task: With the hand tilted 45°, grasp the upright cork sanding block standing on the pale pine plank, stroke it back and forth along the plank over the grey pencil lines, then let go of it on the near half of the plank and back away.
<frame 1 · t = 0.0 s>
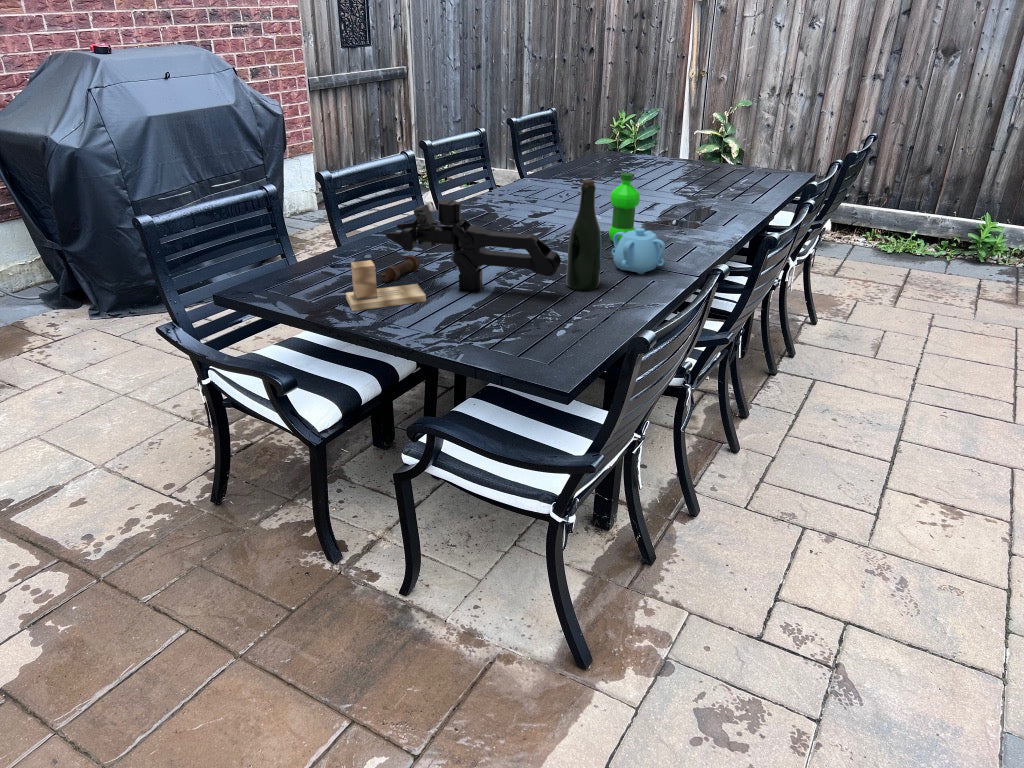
hand: (391, 230, 228), 17 cm above the table, tool horizontal, fingers open, 9 cm apart
decorative pot: (636, 268, 249), on the table
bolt: (399, 277, 241), on the table
beer bottle: (582, 286, 235), on the table
sanding block: (365, 296, 219), point 2 cm above the table, touching plank
plastic bottle: (621, 243, 273), on the table
plank: (386, 300, 222), on the table
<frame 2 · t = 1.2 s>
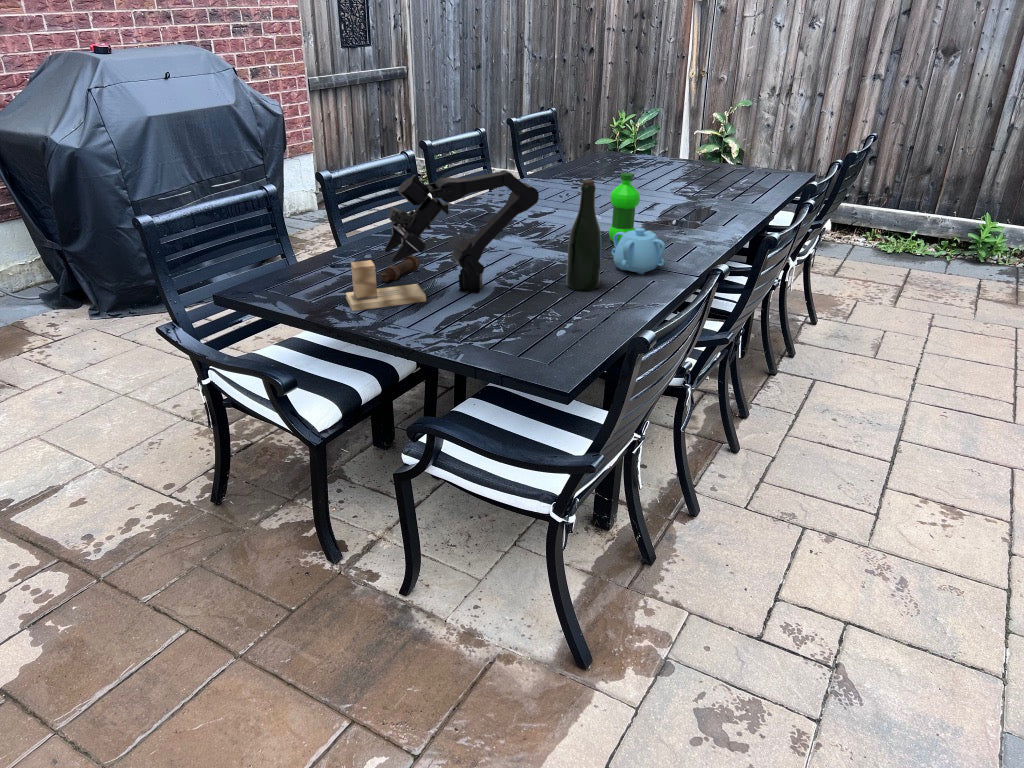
hand: (389, 256, 216), 13 cm above the table, tool tilted 45°, fingers open, 9 cm apart
nothing on the table moved.
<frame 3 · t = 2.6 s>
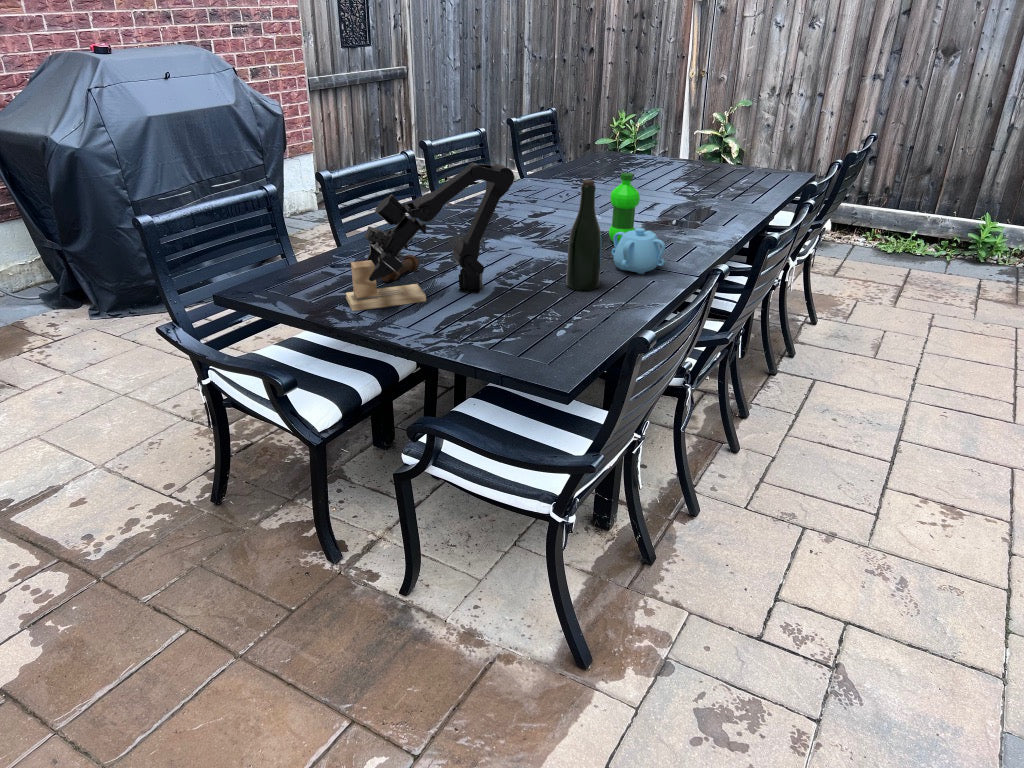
hand: (366, 275, 216), 9 cm above the table, tool tilted 45°, fingers open, 9 cm apart
nothing on the table moved.
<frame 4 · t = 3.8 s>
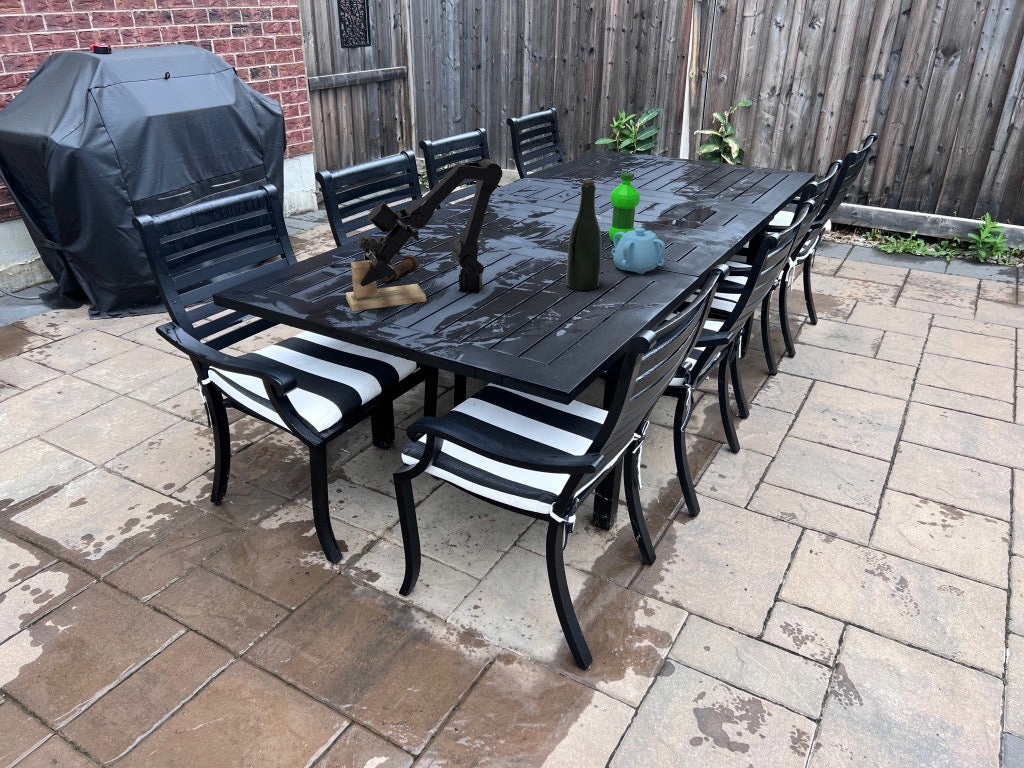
hand: (359, 282, 217), 7 cm above the table, tool tilted 45°, fingers closed on sanding block, 5 cm apart
sanding block: (365, 296, 219), point 2 cm above the table, touching gripper, plank
everything else where it was.
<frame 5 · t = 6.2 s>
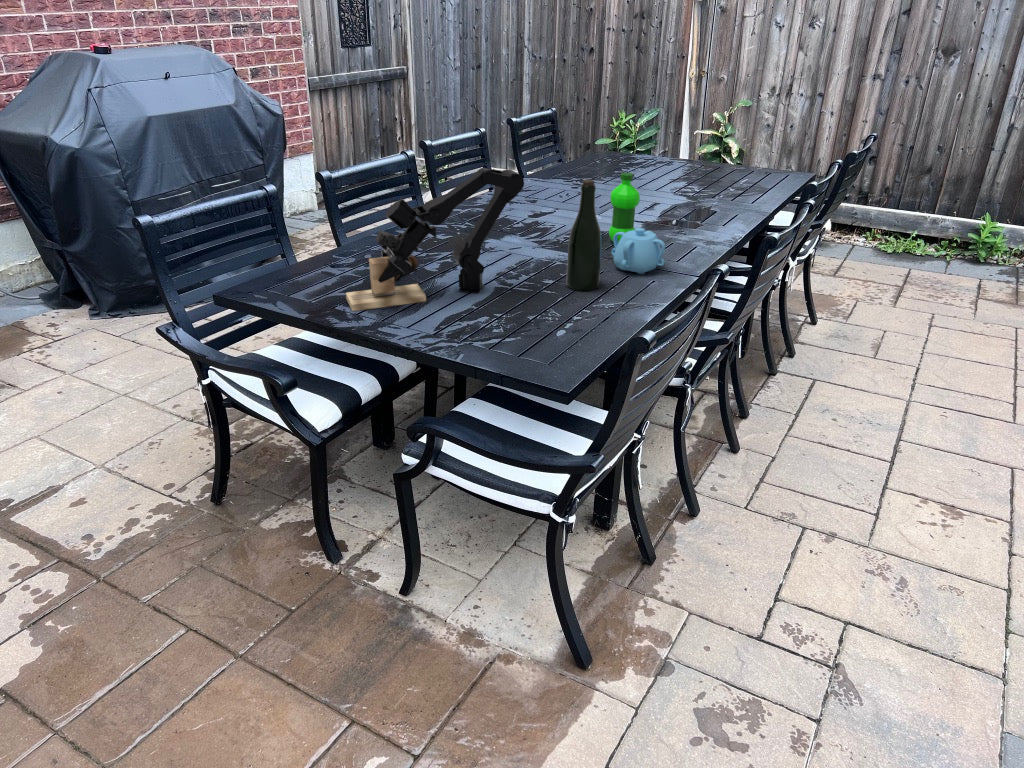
hand: (377, 278, 218), 7 cm above the table, tool tilted 45°, fingers closed on sanding block, 5 cm apart
sanding block: (383, 292, 221), point 3 cm above the table, touching gripper
everything else where it was.
when the fingers open (7 cm above the table, at t = 8.6 s): sanding block stays where it is, resting on plank.
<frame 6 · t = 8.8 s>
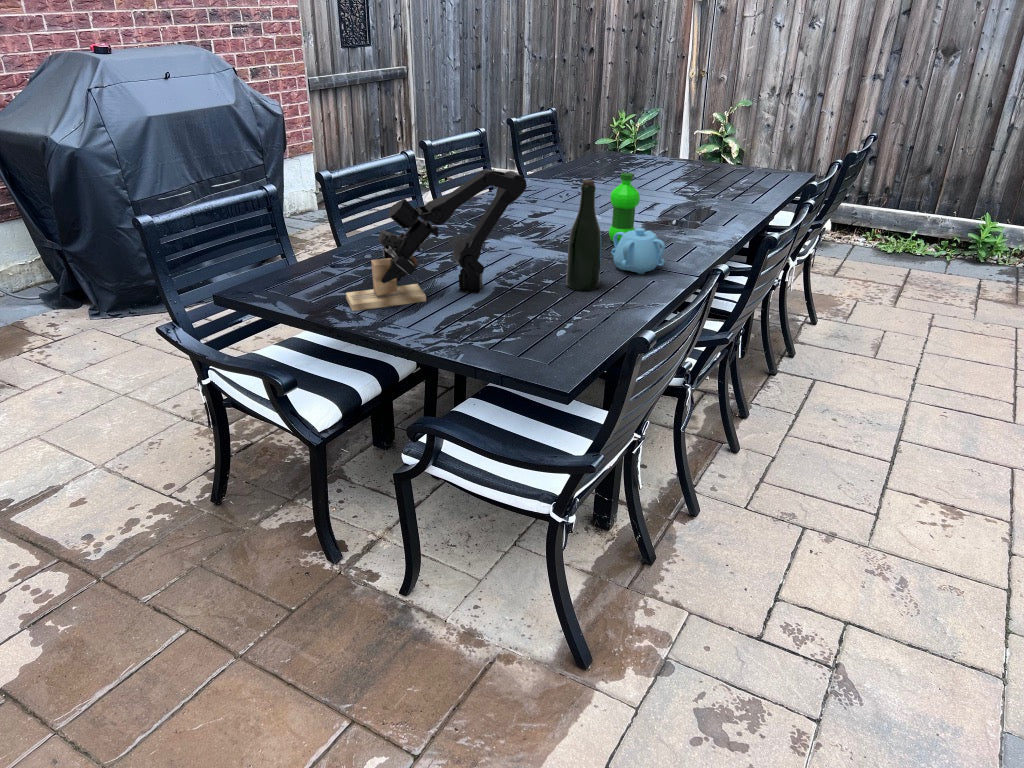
hand: (379, 278, 218), 7 cm above the table, tool tilted 45°, fingers open, 7 cm apart
sanding block: (385, 293, 221), point 2 cm above the table, touching plank
everything else where it was.
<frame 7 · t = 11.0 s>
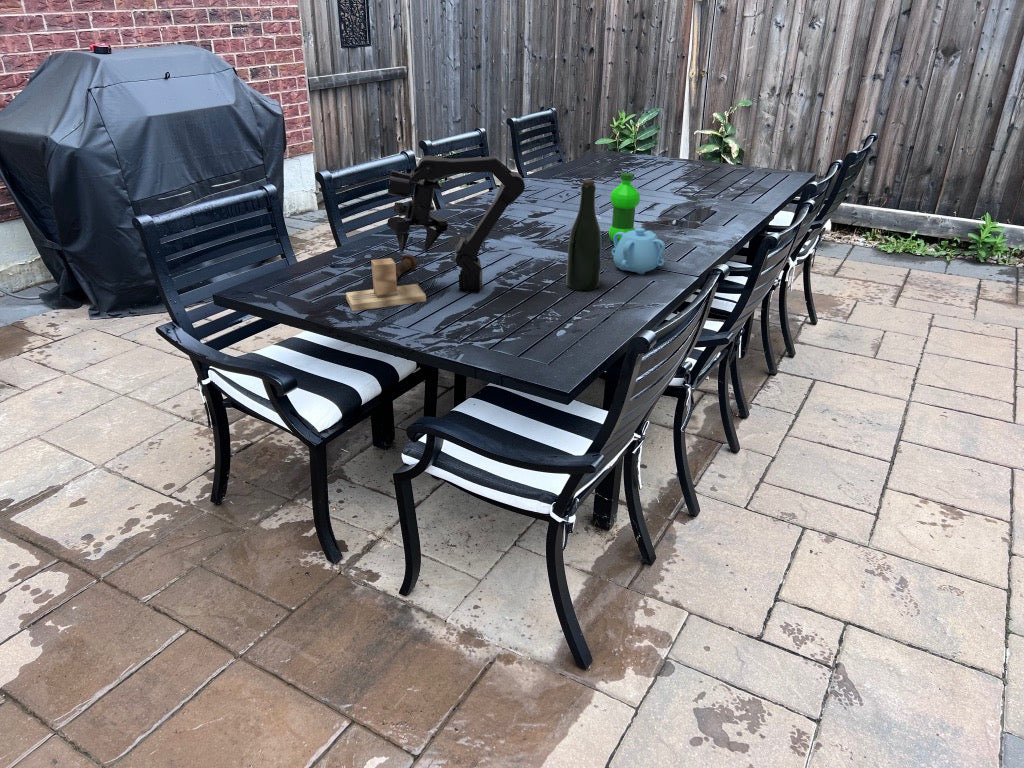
hand: (413, 251, 223), 13 cm above the table, tool pointing down, fingers open, 9 cm apart
nothing on the table moved.
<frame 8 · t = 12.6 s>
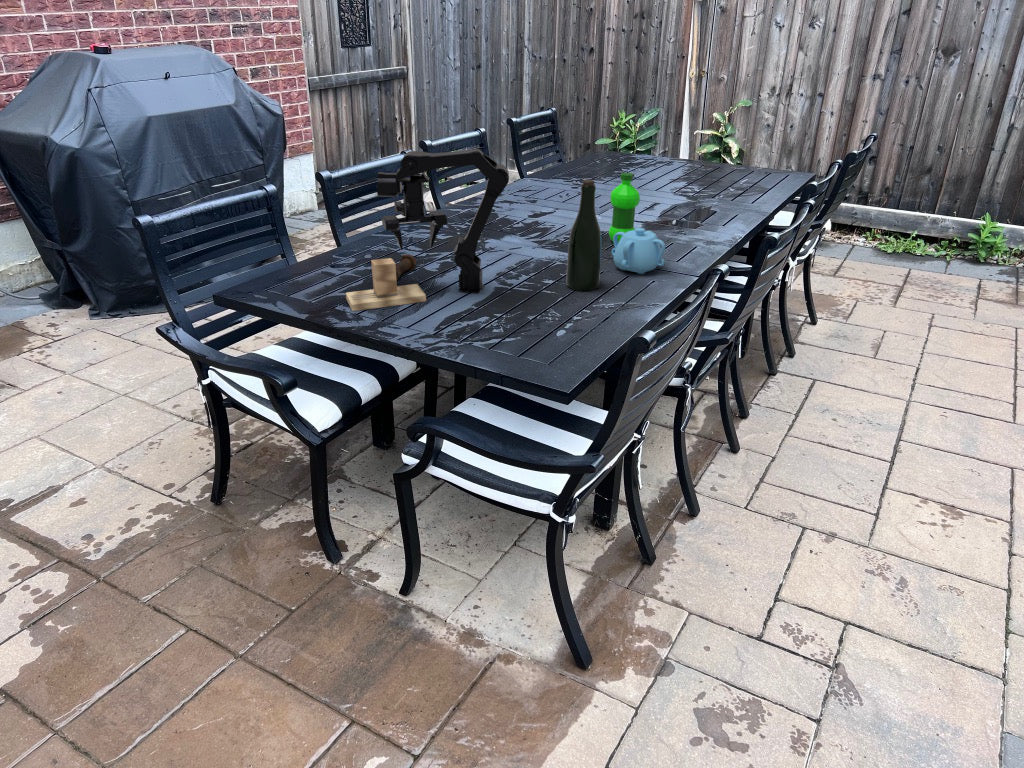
hand: (416, 248, 225), 13 cm above the table, tool pointing down, fingers open, 9 cm apart
nothing on the table moved.
at the end: sanding block inside the target area (1.7 cm from its centre), point 2.0 cm above the table; sanding block tilted 0°; the gripper is holding nothing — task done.
